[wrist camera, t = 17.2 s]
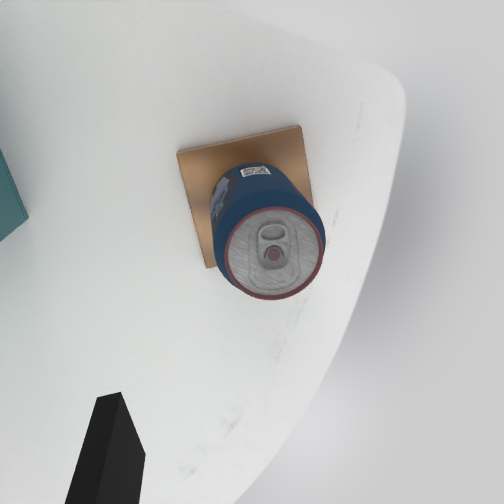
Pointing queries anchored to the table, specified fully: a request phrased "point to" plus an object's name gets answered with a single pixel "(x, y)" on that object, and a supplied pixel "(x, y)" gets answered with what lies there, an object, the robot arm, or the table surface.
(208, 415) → the table surface
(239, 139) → the plate
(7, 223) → the teal lidded box
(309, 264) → the soda can
